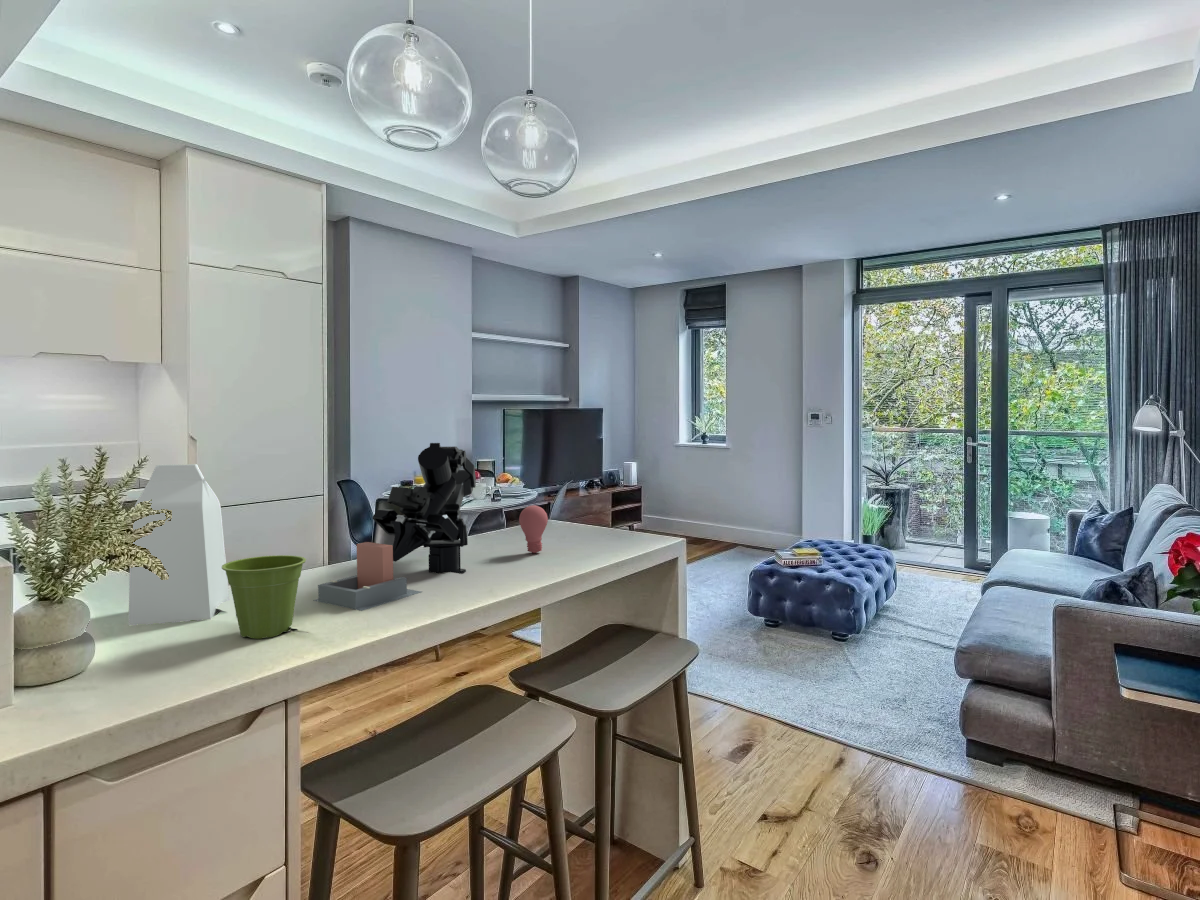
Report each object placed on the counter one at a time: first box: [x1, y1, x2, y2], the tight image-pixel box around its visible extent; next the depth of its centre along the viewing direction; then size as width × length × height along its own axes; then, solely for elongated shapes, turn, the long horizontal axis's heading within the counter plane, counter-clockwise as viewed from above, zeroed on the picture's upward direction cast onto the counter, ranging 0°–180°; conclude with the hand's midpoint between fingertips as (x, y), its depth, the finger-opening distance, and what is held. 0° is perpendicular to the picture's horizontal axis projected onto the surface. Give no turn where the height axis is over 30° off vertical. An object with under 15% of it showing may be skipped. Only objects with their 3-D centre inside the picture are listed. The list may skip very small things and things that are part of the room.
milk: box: [128, 463, 230, 626], centre depth 113 cm, size 12×12×26 cm
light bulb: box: [518, 505, 549, 554], centre depth 163 cm, size 7×7×12 cm
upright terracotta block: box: [356, 541, 394, 589], centre depth 122 cm, size 3×7×9 cm, turn 60°
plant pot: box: [222, 554, 307, 640], centre depth 103 cm, size 12×12×11 cm
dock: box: [313, 574, 423, 612], centre depth 120 cm, size 14×13×4 cm
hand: (392, 560), depth 125 cm, fingers closed
